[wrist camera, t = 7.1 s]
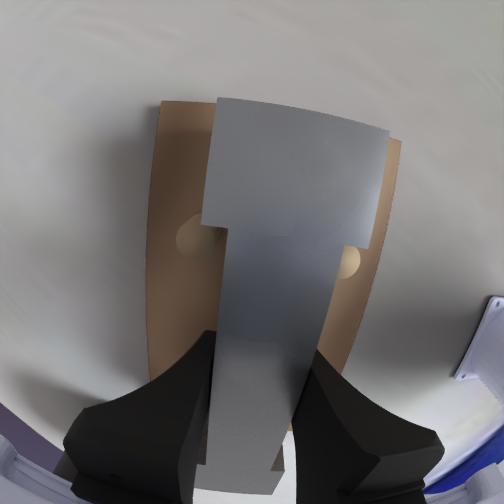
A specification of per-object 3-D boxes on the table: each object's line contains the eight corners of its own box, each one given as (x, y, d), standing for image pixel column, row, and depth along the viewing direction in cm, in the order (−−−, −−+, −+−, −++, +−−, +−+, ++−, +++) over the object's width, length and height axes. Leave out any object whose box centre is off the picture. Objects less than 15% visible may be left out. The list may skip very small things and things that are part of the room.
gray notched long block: (232, 124, 11) (217, 97, 6) (337, 142, 11) (389, 131, 6) (202, 425, 16) (191, 487, 11) (269, 432, 16) (271, 494, 11)
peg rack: (391, 142, 13) (426, 138, 10) (313, 419, 19) (320, 455, 16) (168, 105, 13) (143, 89, 10) (157, 402, 19) (145, 436, 15)
